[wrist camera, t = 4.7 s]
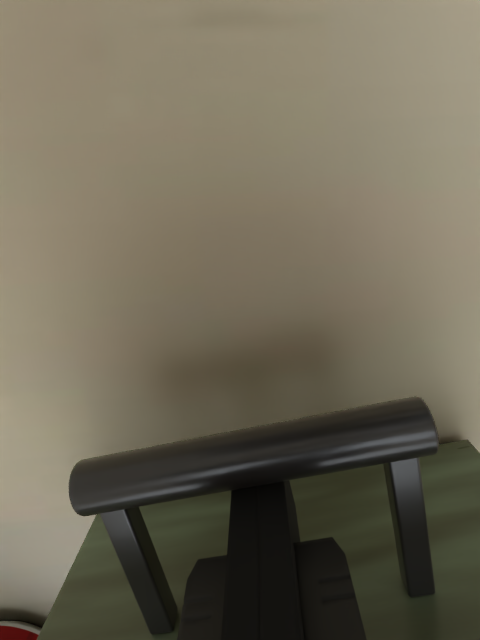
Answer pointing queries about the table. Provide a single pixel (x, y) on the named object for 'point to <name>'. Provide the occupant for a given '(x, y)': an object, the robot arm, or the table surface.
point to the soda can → (18, 630)
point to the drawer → (312, 514)
